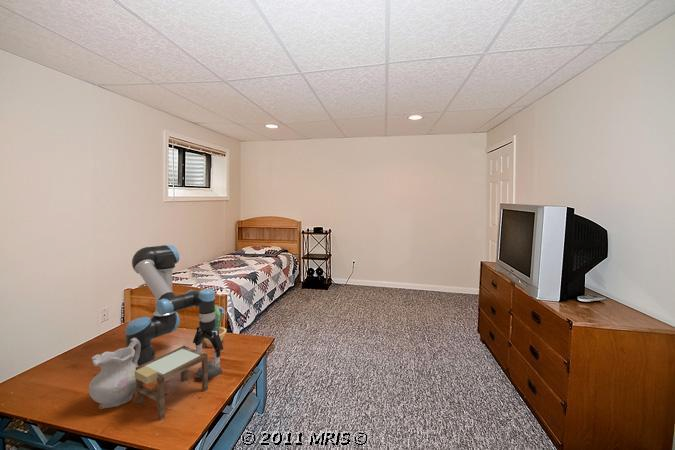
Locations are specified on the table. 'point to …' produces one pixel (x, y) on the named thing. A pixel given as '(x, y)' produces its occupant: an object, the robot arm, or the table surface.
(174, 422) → the table surface
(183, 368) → the stand
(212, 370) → the rock
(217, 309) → the potted cactus
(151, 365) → the trapdoor
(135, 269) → the robot arm
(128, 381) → the ceramic pitcher
